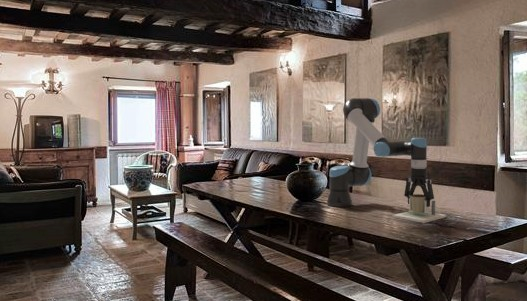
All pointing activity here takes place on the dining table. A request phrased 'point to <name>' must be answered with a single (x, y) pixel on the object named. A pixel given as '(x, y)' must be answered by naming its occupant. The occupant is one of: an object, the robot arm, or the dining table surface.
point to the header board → (420, 215)
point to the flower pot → (418, 203)
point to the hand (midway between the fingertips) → (418, 211)
